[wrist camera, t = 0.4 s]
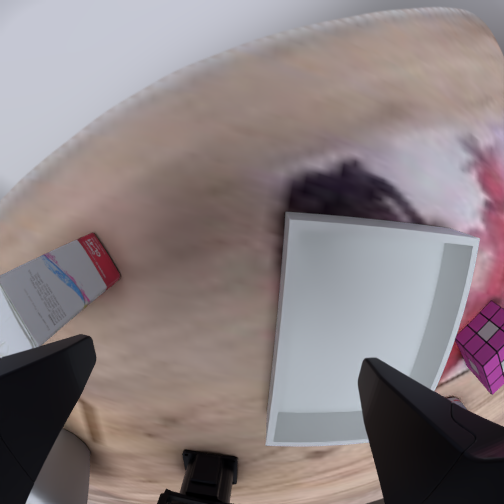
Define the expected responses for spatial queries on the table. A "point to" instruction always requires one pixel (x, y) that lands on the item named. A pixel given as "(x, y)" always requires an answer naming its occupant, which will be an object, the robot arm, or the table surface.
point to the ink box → (51, 292)
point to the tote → (359, 317)
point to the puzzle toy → (485, 346)
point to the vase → (63, 473)
